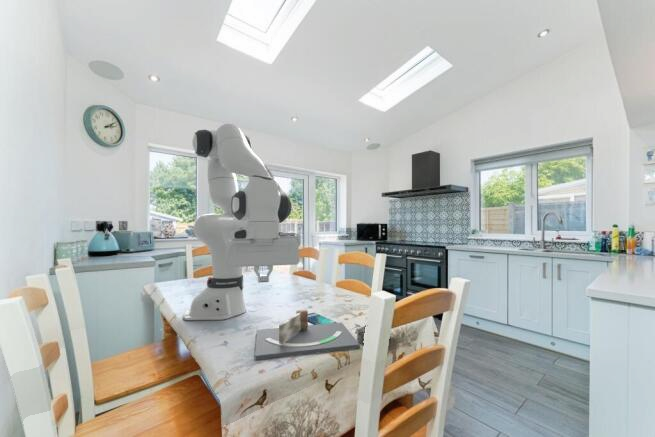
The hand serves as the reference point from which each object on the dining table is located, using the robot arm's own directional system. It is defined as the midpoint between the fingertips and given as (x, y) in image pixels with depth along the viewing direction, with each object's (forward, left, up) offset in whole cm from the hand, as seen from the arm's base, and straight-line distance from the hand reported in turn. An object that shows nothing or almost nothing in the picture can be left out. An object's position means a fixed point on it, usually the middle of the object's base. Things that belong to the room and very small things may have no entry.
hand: (263, 282), depth 76 cm
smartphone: (+19, +19, -19) cm, 33 cm away
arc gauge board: (+12, +3, -18) cm, 22 cm away
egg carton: (+32, -1, -19) cm, 37 cm away
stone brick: (+9, +5, -17) cm, 19 cm away
